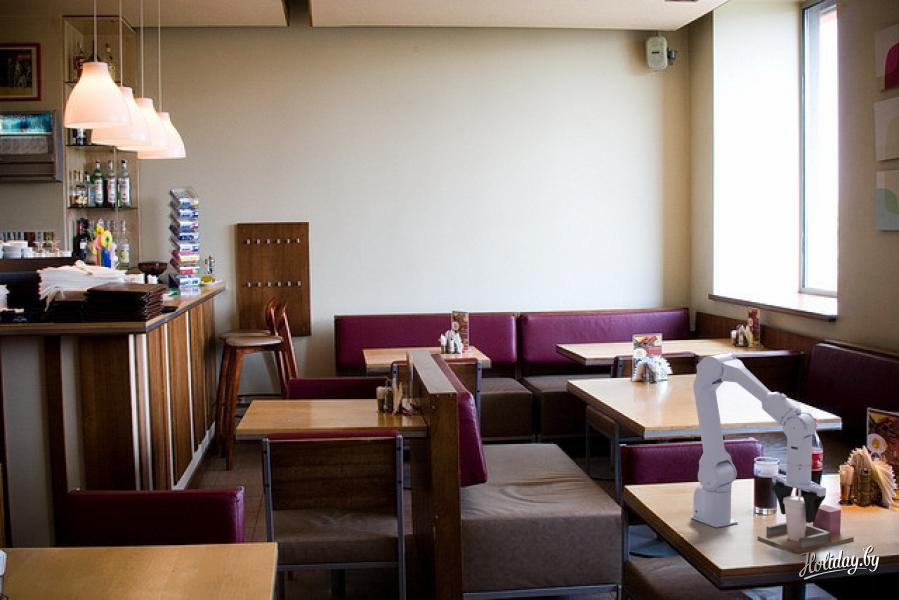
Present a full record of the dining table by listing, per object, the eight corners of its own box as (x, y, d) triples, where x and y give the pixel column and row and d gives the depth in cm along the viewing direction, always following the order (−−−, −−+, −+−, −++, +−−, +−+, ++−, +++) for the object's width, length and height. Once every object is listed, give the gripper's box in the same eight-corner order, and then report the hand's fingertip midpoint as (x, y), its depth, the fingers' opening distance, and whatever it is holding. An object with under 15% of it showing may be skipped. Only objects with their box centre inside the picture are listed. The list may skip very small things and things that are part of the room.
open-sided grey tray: (757, 539, 228) (758, 512, 227) (813, 526, 237) (814, 500, 237) (796, 554, 217) (797, 526, 217) (853, 540, 227) (854, 513, 226)
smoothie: (811, 543, 222) (813, 486, 221) (783, 541, 224) (785, 485, 223) (808, 535, 228) (809, 479, 227) (780, 533, 230) (782, 478, 229)
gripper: (764, 458, 229) (762, 512, 230) (812, 472, 216) (810, 528, 217) (784, 455, 232) (782, 508, 233) (832, 468, 219) (830, 524, 221)
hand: (797, 517), depth 225 cm, fingers open, 7 cm apart
